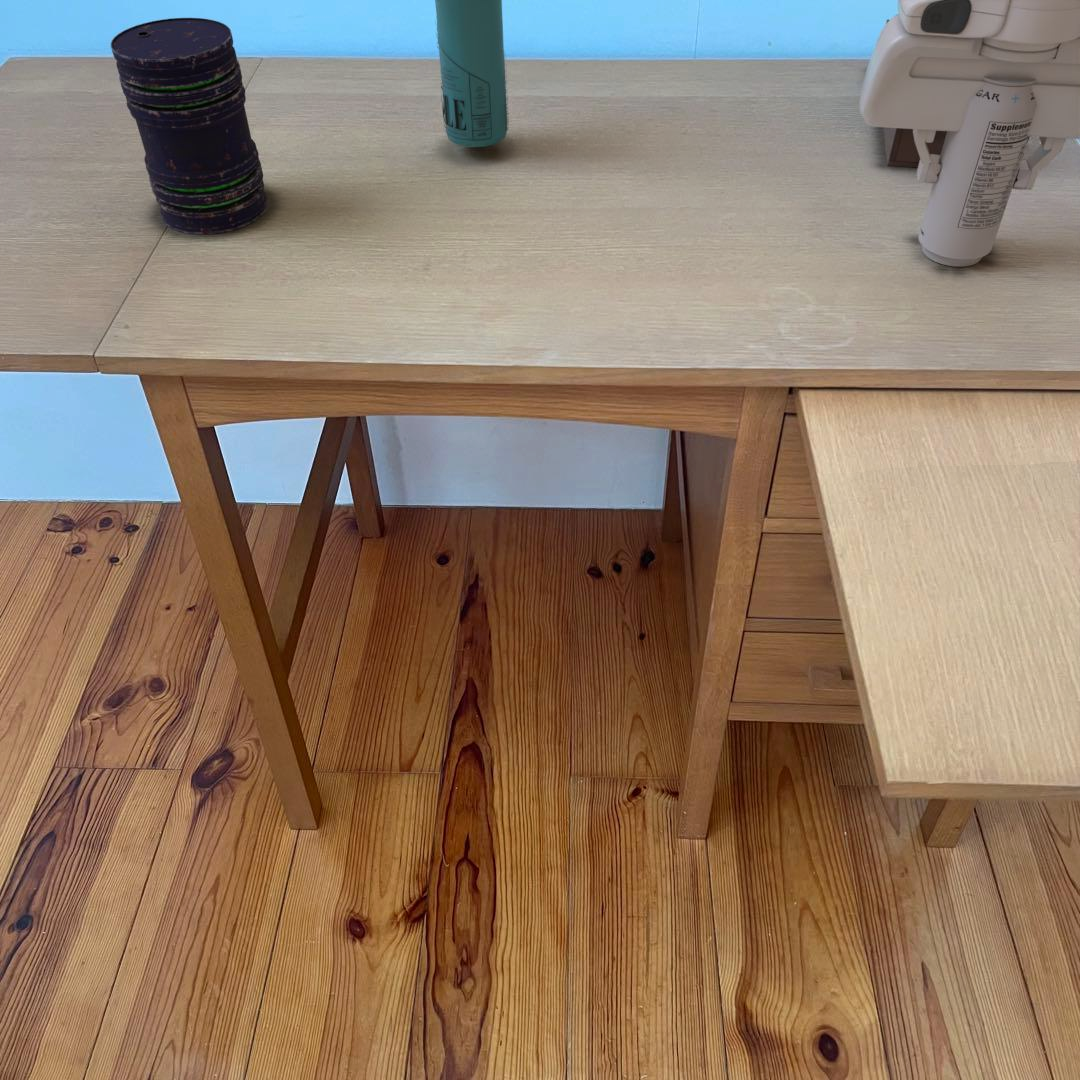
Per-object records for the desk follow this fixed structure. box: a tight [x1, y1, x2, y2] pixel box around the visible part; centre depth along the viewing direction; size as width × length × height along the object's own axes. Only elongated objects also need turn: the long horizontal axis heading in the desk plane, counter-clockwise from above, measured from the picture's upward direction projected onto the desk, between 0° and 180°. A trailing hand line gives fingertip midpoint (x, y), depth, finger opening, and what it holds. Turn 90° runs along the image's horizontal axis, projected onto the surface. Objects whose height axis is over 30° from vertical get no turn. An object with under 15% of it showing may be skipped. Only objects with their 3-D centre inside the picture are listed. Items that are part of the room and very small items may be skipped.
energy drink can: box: [918, 77, 1037, 268], centre depth 81 cm, size 6×6×15 cm
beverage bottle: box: [434, 0, 510, 148], centre depth 94 cm, size 6×7×20 cm
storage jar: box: [110, 17, 269, 235], centre depth 88 cm, size 10×10×15 cm
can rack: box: [882, 19, 947, 169], centre depth 104 cm, size 9×25×6 cm, turn 169°
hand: (972, 183), depth 82 cm, fingers closed on energy drink can, 6 cm apart
